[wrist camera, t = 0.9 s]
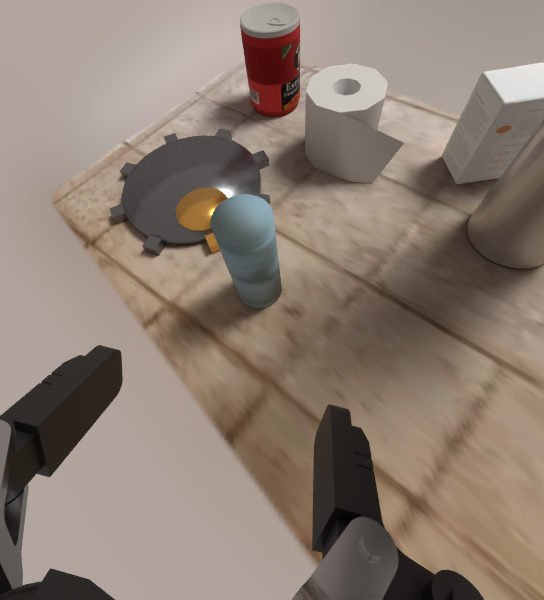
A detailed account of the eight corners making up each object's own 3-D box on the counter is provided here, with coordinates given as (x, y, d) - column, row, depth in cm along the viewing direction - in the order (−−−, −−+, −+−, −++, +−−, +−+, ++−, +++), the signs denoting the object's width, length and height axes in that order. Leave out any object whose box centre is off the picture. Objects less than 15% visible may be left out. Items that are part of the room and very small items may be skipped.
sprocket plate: (201, 119, 49) (198, 110, 47) (303, 181, 41) (303, 172, 40) (89, 198, 43) (82, 190, 42) (183, 286, 36) (179, 279, 34)
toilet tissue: (380, 193, 39) (400, 131, 31) (293, 159, 43) (291, 97, 35) (408, 150, 42) (433, 83, 34) (324, 122, 46) (329, 57, 38)
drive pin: (259, 262, 36) (242, 185, 25) (290, 286, 34) (286, 214, 24) (229, 290, 35) (197, 221, 24) (260, 317, 33) (240, 255, 22)
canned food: (292, 120, 47) (290, 34, 37) (244, 114, 48) (230, 29, 39) (305, 90, 50) (307, 3, 40) (259, 86, 51) (250, 0, 41)
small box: (499, 147, 41) (559, 58, 31) (518, 177, 38) (589, 89, 29) (439, 155, 41) (481, 69, 32) (454, 185, 39) (505, 102, 29)
